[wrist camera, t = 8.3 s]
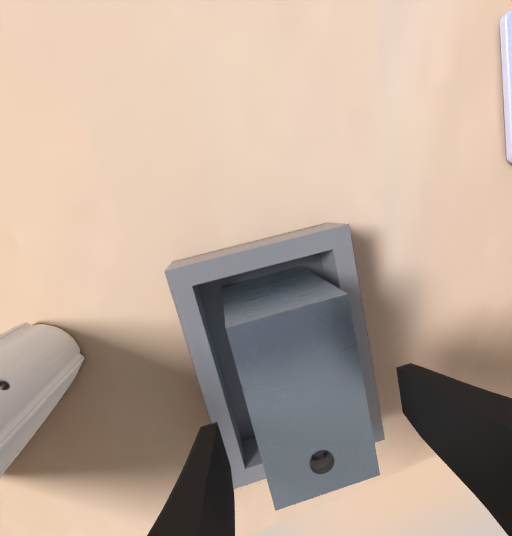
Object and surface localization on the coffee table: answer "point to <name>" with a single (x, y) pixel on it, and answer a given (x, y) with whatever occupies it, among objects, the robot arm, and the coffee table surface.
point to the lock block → (301, 382)
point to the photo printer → (32, 381)
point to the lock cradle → (215, 335)
